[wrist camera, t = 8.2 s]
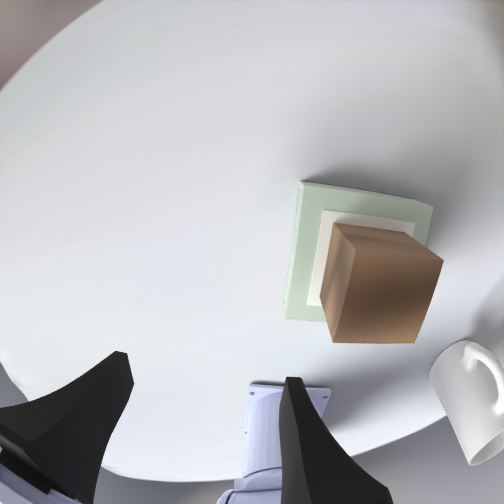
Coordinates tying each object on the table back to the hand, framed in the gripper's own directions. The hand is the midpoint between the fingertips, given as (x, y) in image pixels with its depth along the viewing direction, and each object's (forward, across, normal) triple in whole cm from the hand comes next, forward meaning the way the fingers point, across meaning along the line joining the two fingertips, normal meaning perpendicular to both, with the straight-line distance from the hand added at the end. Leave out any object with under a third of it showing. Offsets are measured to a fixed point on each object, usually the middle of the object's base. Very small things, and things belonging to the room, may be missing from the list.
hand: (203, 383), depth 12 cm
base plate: (+10, -9, -3) cm, 14 cm away
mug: (+10, -23, +6) cm, 26 cm away
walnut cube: (+8, -9, -3) cm, 12 cm away
